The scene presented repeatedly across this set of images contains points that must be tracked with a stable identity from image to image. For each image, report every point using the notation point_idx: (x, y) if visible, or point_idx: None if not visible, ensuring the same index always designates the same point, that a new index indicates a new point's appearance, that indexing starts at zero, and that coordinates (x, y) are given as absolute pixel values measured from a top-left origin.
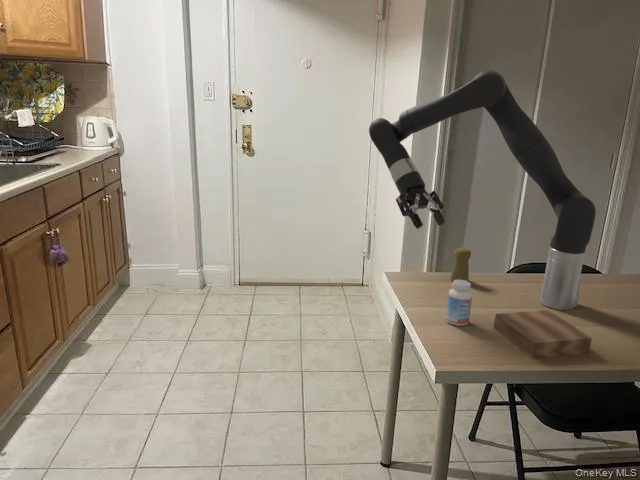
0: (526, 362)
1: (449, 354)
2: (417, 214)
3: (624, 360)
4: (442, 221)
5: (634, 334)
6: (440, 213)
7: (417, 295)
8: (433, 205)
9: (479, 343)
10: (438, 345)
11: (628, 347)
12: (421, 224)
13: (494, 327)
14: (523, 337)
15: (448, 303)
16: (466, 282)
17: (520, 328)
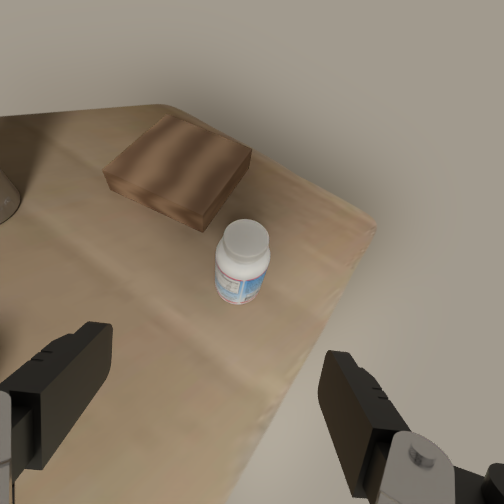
0: (264, 168)
1: (340, 231)
2: (374, 419)
3: (156, 110)
4: (108, 328)
5: (52, 112)
6: (38, 367)
7: (182, 449)
8: (10, 465)
9: (274, 222)
10: (337, 254)
11: (110, 111)
12: (341, 352)
13: (204, 230)
14: (240, 166)
15: (263, 277)
16: (235, 231)
17: (223, 172)
